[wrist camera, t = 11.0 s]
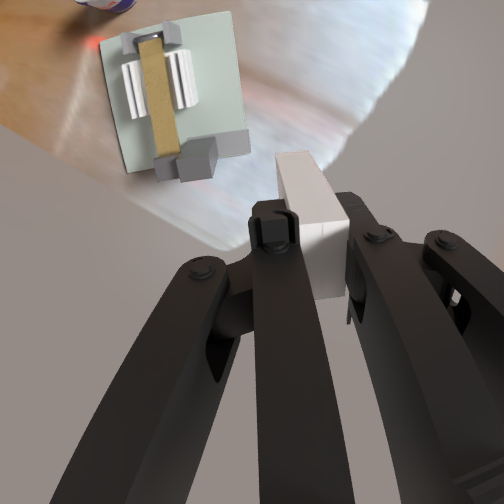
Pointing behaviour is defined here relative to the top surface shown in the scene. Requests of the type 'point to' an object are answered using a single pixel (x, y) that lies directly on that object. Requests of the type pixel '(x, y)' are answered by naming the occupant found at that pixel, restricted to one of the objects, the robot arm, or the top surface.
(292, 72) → the top surface
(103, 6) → the energy drink
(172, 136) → the strap
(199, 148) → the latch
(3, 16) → the top surface
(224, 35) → the board
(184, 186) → the top surface
